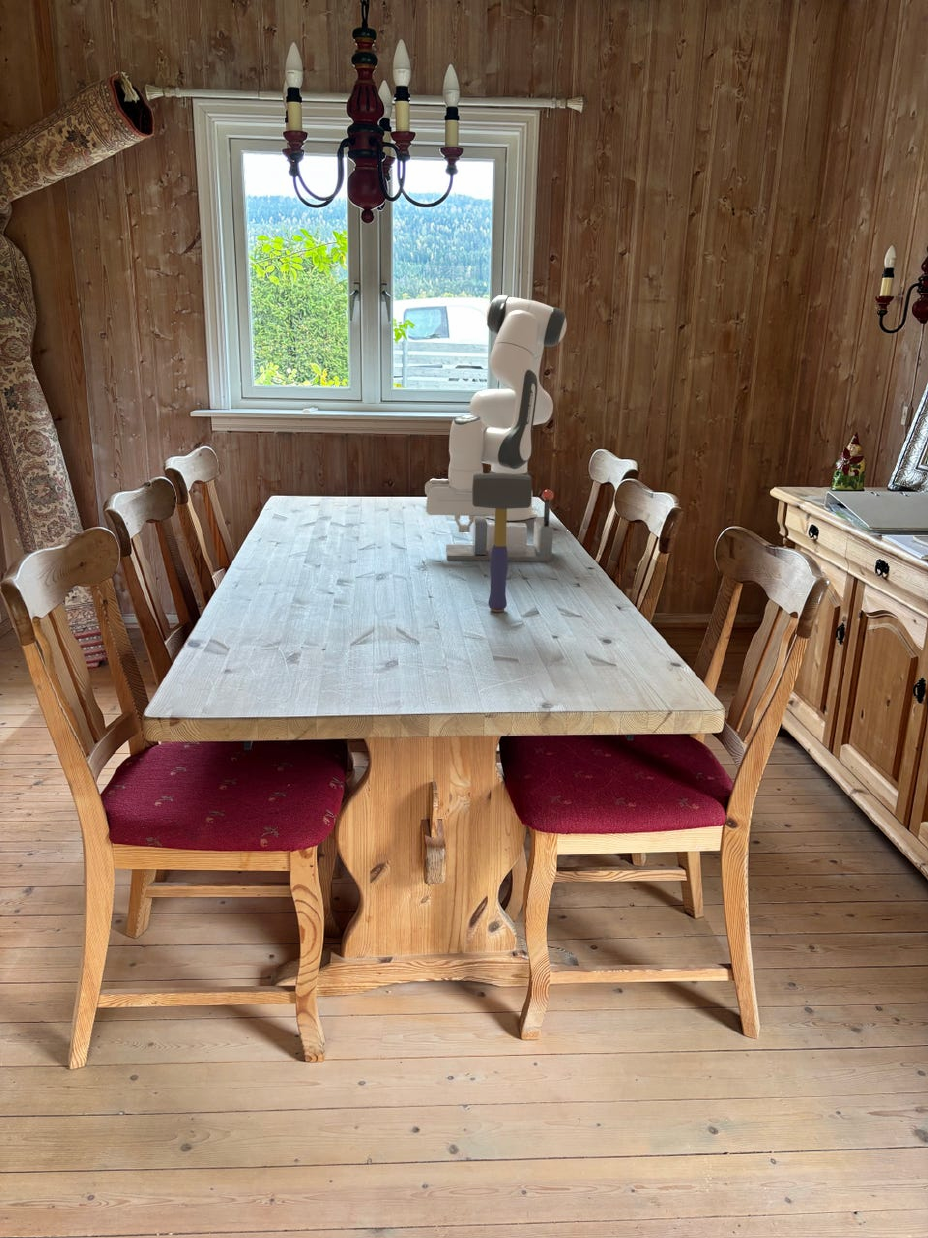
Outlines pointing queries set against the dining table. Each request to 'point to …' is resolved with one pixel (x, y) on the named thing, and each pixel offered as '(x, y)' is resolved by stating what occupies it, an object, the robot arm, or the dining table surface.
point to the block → (511, 537)
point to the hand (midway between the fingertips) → (464, 532)
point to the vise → (533, 553)
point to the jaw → (480, 535)
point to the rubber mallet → (500, 521)
